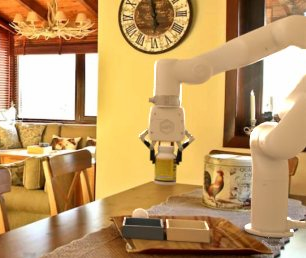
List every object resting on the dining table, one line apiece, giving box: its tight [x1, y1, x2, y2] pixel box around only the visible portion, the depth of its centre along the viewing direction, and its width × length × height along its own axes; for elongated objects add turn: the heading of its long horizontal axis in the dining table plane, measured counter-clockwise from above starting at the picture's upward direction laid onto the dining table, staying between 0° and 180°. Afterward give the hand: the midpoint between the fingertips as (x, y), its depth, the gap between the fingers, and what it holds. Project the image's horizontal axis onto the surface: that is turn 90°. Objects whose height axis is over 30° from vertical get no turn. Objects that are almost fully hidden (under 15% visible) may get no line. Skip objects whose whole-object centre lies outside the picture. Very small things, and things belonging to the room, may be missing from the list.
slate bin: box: [122, 216, 164, 241], centre depth 147 cm, size 11×10×4 cm
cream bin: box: [165, 218, 211, 244], centre depth 144 cm, size 11×10×4 cm
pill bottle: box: [153, 145, 178, 186], centre depth 149 cm, size 6×6×11 cm
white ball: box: [131, 208, 150, 218], centre depth 158 cm, size 5×5×5 cm
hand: (165, 163), depth 149 cm, fingers closed on pill bottle, 6 cm apart
